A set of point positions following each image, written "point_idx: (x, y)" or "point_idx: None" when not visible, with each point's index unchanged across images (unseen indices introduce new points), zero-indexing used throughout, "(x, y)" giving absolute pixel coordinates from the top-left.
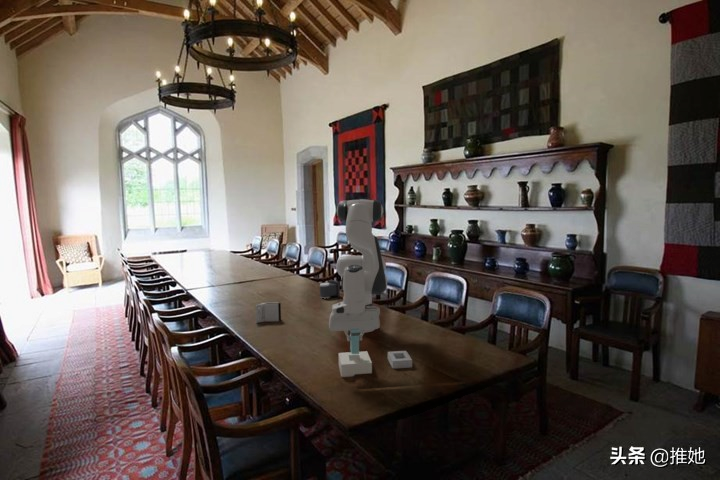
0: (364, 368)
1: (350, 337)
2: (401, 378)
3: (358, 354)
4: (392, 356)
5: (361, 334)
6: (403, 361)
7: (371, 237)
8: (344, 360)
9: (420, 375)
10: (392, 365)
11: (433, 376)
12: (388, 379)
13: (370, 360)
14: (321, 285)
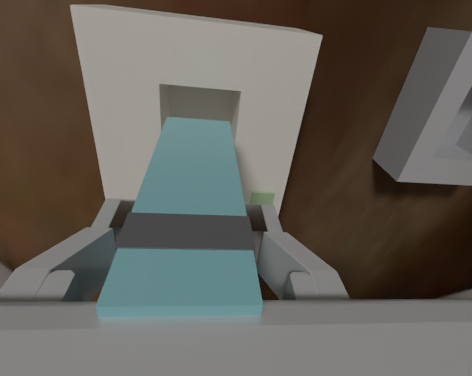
0: None
1: None
2: (359, 225)
3: (237, 88)
4: (439, 122)
5: (270, 285)
6: (444, 181)
7: None
8: (127, 165)
9: (435, 216)
10: (385, 163)
11: (467, 229)
12: (312, 224)
13: (281, 194)
14: None
